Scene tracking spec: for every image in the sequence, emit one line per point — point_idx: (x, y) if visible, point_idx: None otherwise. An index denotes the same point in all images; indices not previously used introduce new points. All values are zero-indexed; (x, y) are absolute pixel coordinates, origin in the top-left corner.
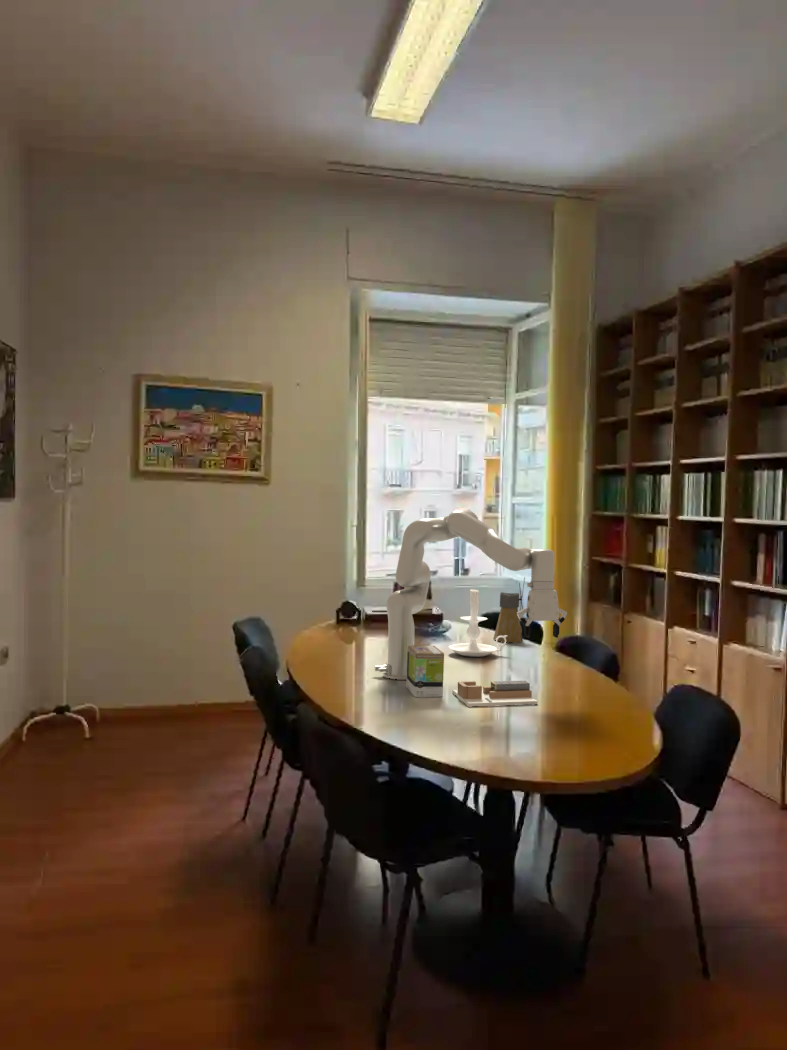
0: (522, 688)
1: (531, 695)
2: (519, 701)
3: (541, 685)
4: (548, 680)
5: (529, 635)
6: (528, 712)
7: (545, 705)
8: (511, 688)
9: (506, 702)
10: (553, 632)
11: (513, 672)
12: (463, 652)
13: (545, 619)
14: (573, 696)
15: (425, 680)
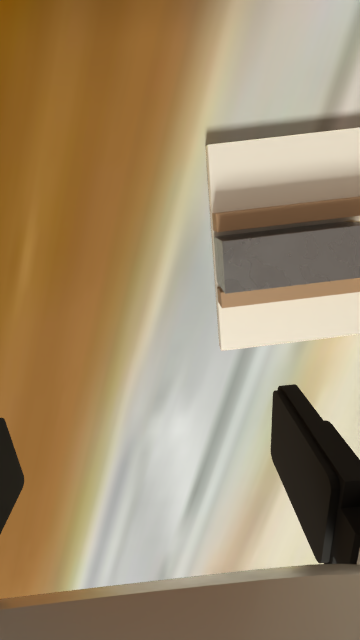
0: (249, 236)
1: (213, 213)
2: (283, 139)
3: (117, 419)
4: (81, 475)
5: (295, 397)
6: (281, 9)
7: (175, 137)
8: (297, 230)
9: (338, 130)
10: (4, 501)
11: (164, 548)
12: None
13: (82, 611)
14: (35, 278)
15: None
